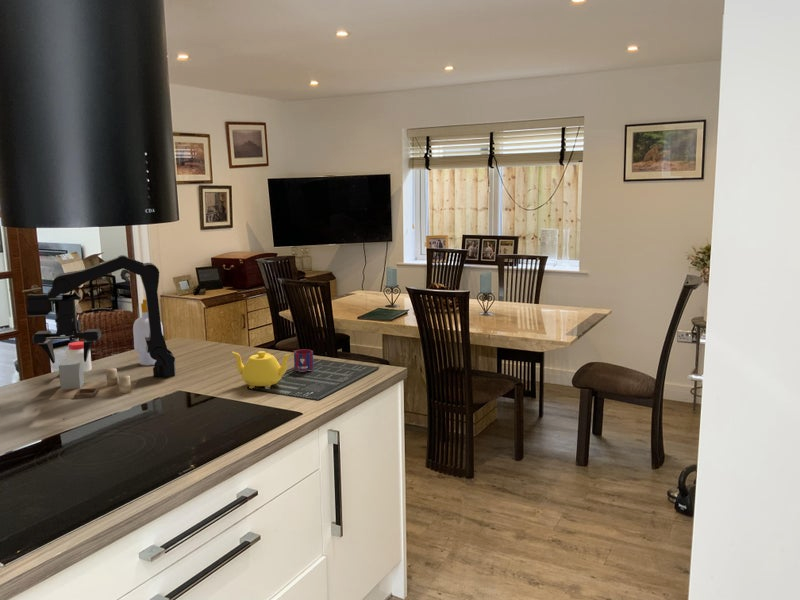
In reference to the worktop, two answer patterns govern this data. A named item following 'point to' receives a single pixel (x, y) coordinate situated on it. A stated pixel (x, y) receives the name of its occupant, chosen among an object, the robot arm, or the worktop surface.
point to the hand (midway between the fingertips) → (69, 362)
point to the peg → (111, 377)
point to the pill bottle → (78, 354)
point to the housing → (71, 374)
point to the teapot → (261, 369)
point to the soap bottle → (143, 336)
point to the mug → (303, 360)
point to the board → (91, 391)
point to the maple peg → (124, 384)
